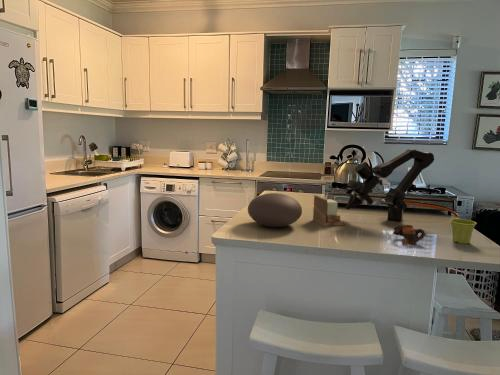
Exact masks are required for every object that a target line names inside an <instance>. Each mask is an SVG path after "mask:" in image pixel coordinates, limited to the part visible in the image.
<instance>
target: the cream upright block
mask: <svg viewBox="0 0 500 375" xmlns="http://www.w3.org/2000/svg"><path fill="white" fill-rule="evenodd" d="M326 199H327V198H326ZM327 215H338V201H336V200H333V199H331V198H330V199H327V212H326V221H327Z"/></svg>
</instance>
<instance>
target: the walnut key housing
mask: <svg viewBox="0 0 500 375" xmlns="http://www.w3.org/2000/svg"><path fill="white" fill-rule="evenodd" d="M312 211H313V214H312V215H313V216H312V220H313V221H314V222H316V223H317V224H319V225H321V226H322V227H333V226H344V225H345V221H342V220H341V215H340V214H337V215H327V221H326V212H327V198H324V197H321V196H319V195H317V194H314V196H313V210H312Z"/></svg>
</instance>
